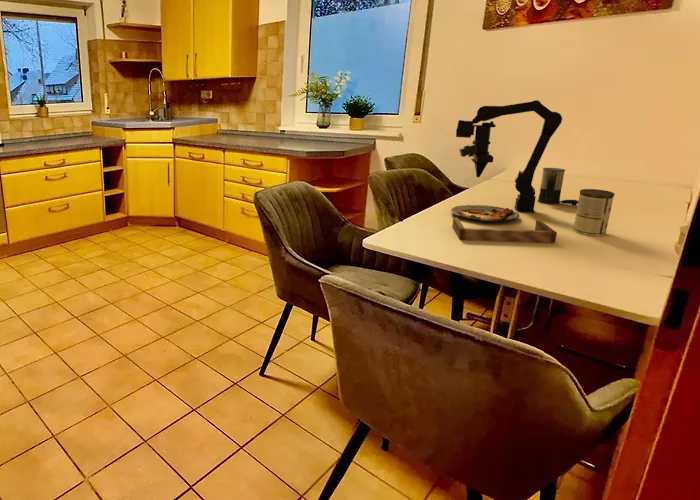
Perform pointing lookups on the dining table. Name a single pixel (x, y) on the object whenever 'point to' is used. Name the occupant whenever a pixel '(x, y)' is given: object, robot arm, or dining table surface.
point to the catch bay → (506, 233)
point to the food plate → (485, 212)
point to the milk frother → (553, 187)
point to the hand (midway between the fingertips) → (477, 177)
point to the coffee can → (593, 212)
